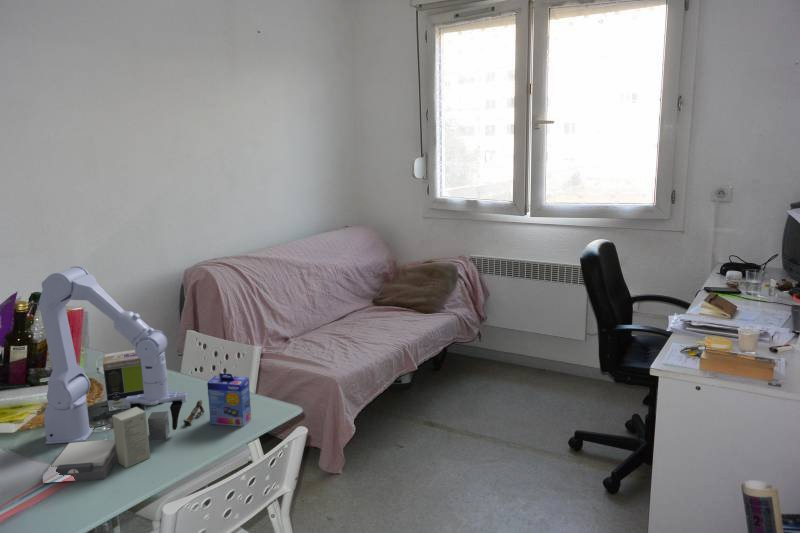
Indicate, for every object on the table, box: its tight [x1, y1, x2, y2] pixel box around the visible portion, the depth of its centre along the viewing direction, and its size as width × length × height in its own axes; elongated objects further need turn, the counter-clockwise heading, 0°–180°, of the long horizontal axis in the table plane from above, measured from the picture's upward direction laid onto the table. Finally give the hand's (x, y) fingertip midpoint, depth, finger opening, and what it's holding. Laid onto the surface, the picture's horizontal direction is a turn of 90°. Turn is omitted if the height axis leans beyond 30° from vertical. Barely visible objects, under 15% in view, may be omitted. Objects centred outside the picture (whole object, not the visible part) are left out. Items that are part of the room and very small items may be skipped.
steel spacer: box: [147, 410, 171, 442], centre depth 152 cm, size 4×4×6 cm
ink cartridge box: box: [206, 373, 252, 427], centre depth 160 cm, size 10×6×14 cm, turn 81°
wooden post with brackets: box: [183, 399, 205, 426], centre depth 163 cm, size 2×8×4 cm, turn 166°
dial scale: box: [50, 438, 117, 482], centre depth 139 cm, size 13×14×3 cm
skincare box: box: [111, 407, 151, 468], centre depth 140 cm, size 6×4×12 cm
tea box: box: [102, 349, 150, 411], centre depth 173 cm, size 15×10×15 cm, turn 115°
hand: (159, 429), depth 152 cm, fingers open, 7 cm apart
